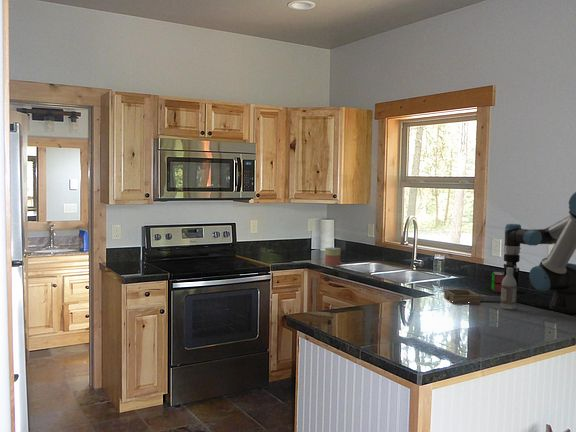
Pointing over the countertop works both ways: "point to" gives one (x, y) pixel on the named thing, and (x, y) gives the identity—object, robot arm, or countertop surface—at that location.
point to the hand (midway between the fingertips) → (509, 298)
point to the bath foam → (508, 290)
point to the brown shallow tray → (462, 296)
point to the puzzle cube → (497, 281)
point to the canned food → (332, 256)
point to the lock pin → (490, 298)
